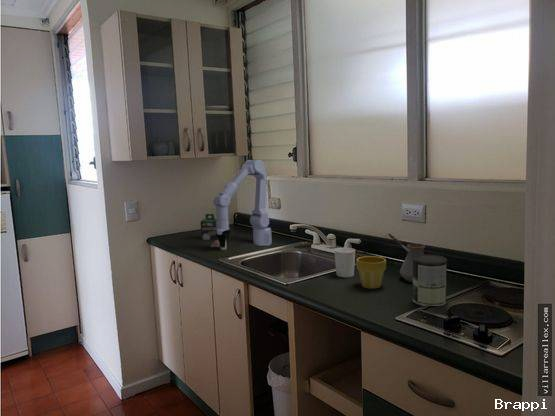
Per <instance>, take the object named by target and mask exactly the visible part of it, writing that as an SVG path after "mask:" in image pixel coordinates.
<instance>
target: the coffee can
mask: <svg viewBox="0 0 555 416" xmlns="http://www.w3.org/2000/svg"><path fill="white" fill-rule="evenodd" d="M447 262H448V258H446V257H445V256H441V255H438V254H424V255H417V256H414V257H413V282H412V302H413V303H415V304H416V305H419V306H423V307H428V306H438V307H442V306H445V305H446V303H447V267H448V266H447Z"/></svg>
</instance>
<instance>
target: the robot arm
mask: <svg viewBox="0 0 555 416" xmlns="http://www.w3.org/2000/svg"><path fill="white" fill-rule="evenodd" d="M250 175H252V176H253V177H254V178H255V197H254V209H253V210H252V212H251V216H250V217H249V222H250V225H251V226H252V234H253V239H252V241H253V244H255V246H257V247H258V246H260V247H261V246H262V247H263V246H264V247H265V246H266V247H267V246H271V245H272V243H273V242H272V241H273V240H272V239H273V238H272V228H271V227H268V226H269V224H270V218H269V212H268V211H267V210H266V200H267V183H268V182H267V181H268V174H267V172H266V164H265V163H264V161H262V160H260V159H256V160H255V159H253V160H252V159H247V160H245V162H244V163H243V164H242V167H241V168H240V169H239V171H238V173H237V174H236V175H235V177H233V180H232V181H230V182H228V183H225V186H224V188H223V189H221V191H219V193H218V194H216V195H215V196H214V199H213V201H212V202H213V204H214V205H215V211H216V213H215V214H216V218H217V228H215V230H217V233H216V236H217V238H218V239H217V240H219V244H220V247H219V248H221V247H225V244H226V245H227V246H228V243H229V237H230V234H231V232H232V230H230V227H229V226H230V224H229V223H230V222H229V205H230V204H231V199H232V198H233V197H234V196H235V194H236V193H237V191H238V186H240V184H242V182H243V181H244V179H246V177H248V176H250Z"/></svg>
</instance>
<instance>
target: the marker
mask: <svg viewBox="0 0 555 416" xmlns="http://www.w3.org/2000/svg"><path fill="white" fill-rule="evenodd" d="M227 248H228V244H227V245H226V244H225V247H220V250H221V251H226V250H227Z"/></svg>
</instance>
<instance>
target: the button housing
mask: <svg viewBox="0 0 555 416" xmlns="http://www.w3.org/2000/svg"><path fill="white" fill-rule="evenodd" d="M210 248H221V247H220V245H215V242H213V243H211V245H210Z"/></svg>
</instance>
